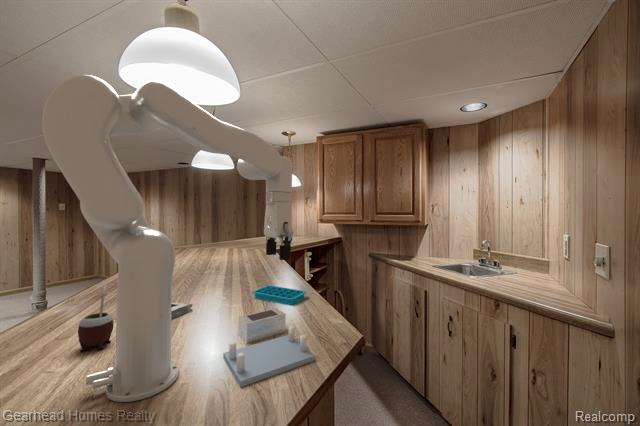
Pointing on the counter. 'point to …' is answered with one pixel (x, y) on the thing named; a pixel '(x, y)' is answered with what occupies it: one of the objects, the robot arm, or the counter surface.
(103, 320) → the mate gourd
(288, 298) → the ice cube tray
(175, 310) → the graphics card
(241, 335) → the block
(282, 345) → the pin tray
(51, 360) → the counter surface
